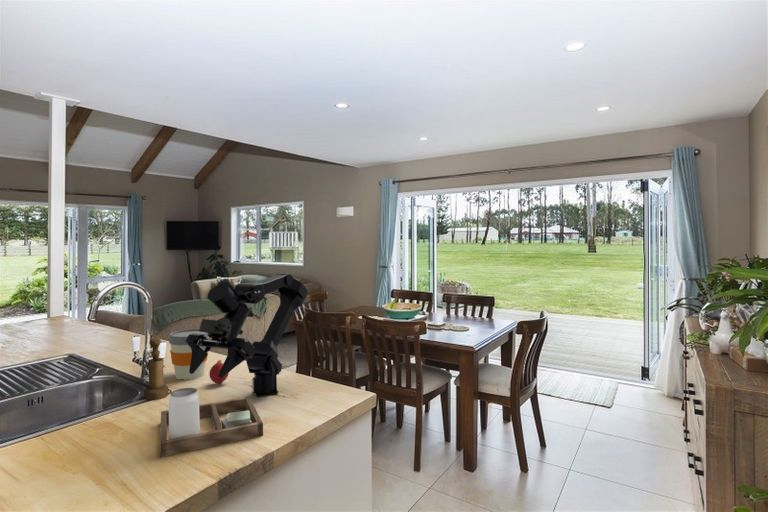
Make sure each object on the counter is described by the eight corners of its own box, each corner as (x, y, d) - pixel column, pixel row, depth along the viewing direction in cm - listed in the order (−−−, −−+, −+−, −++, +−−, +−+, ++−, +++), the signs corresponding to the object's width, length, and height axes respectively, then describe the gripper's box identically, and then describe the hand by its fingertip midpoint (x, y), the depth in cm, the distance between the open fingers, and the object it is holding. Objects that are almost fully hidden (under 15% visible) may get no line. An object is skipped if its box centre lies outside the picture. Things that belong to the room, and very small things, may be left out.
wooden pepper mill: (173, 393, 129) (172, 335, 128) (155, 401, 123) (154, 340, 122) (157, 390, 131) (155, 333, 131) (138, 398, 125) (137, 338, 125)
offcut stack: (249, 423, 109) (249, 408, 109) (254, 433, 103) (254, 417, 103) (221, 428, 106) (220, 413, 105) (224, 439, 100) (223, 423, 100)
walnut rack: (249, 407, 119) (249, 396, 119) (263, 435, 102) (262, 423, 102) (161, 422, 109) (161, 411, 109) (160, 456, 92) (160, 443, 92)
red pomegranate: (222, 388, 134) (221, 363, 134) (205, 386, 135) (205, 362, 135) (232, 381, 140) (231, 358, 139) (216, 380, 141) (216, 357, 140)
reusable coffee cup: (204, 380, 141) (203, 336, 140) (164, 382, 139) (163, 337, 138) (213, 368, 153) (212, 328, 153) (176, 370, 151) (175, 329, 151)
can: (176, 436, 102) (175, 387, 101) (203, 435, 102) (202, 386, 102) (164, 449, 95) (163, 397, 95) (194, 448, 96) (193, 396, 95)
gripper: (188, 303, 113) (156, 356, 103) (246, 307, 107) (217, 364, 97) (211, 325, 121) (183, 376, 112) (266, 330, 115) (241, 385, 105)
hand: (205, 375), depth 106 cm, fingers open, 9 cm apart
